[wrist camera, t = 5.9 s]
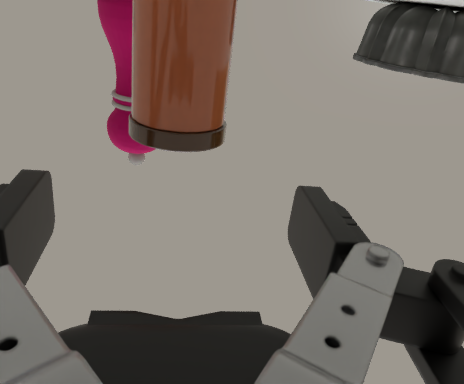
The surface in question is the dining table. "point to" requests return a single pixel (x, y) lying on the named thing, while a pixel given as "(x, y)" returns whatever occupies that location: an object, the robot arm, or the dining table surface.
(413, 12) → the bundt pan
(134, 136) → the spice jar
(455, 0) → the dining table surface
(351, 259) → the robot arm
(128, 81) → the pepper mill
